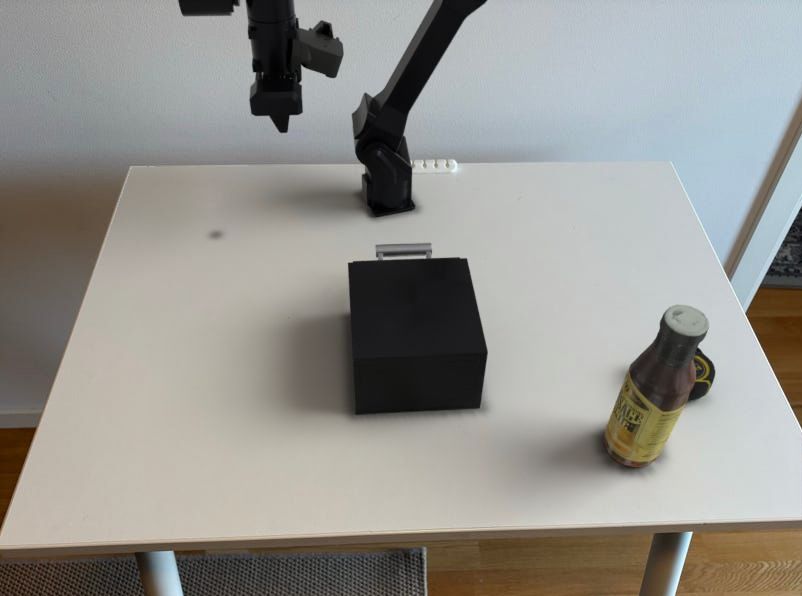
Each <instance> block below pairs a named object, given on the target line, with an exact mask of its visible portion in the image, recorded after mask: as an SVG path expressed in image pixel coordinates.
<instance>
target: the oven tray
mask: <svg viewBox="0 0 802 596" xmlns="http://www.w3.org/2000/svg"><path fill="white" fill-rule="evenodd" d="M374 248H375V258H376V259H373V260H372V259H371V260H353V261H352V262H376V261H403V260H430V259H456V258H461V257H460V256H452V257H449V256H448V257H432V255H433V244H432V242H413V243H409V242H408V243H387V244H386V243H385V244H384V243H381V244H375V247H374ZM402 257H404V258H402ZM405 257H406V258H405ZM407 257H424V258H407ZM384 258H398V259H384Z"/></svg>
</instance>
